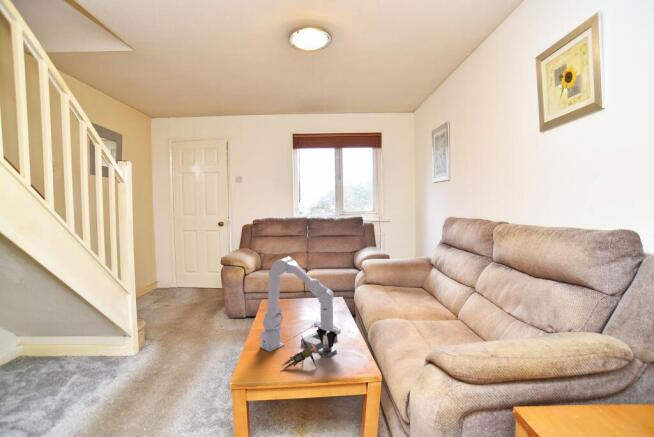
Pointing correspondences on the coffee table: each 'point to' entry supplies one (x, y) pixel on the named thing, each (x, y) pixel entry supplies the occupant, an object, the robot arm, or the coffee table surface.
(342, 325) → the coffee table surface
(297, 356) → the samurai figurine
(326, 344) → the metal peg
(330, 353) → the gray square base plate
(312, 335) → the hole board
